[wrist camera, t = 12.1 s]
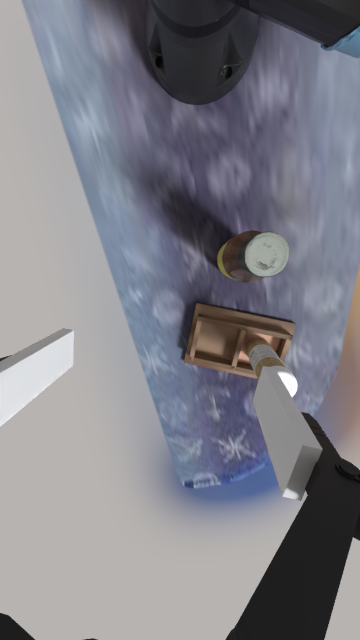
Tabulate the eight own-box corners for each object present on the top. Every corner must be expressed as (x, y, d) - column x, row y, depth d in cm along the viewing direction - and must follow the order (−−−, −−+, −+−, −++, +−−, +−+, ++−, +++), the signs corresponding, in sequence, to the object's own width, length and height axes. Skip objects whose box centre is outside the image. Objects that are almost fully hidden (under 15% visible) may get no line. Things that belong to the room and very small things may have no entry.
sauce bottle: (231, 284, 41) (253, 308, 22) (209, 256, 40) (212, 256, 21) (262, 259, 40) (315, 262, 21) (239, 230, 39) (273, 204, 20)
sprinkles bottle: (262, 363, 44) (285, 408, 31) (240, 353, 44) (255, 394, 31) (275, 343, 42) (305, 381, 29) (252, 332, 42) (273, 366, 29)
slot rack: (196, 302, 43) (195, 306, 40) (294, 322, 42) (300, 327, 39) (184, 360, 46) (182, 367, 43) (274, 380, 45) (279, 389, 42)
